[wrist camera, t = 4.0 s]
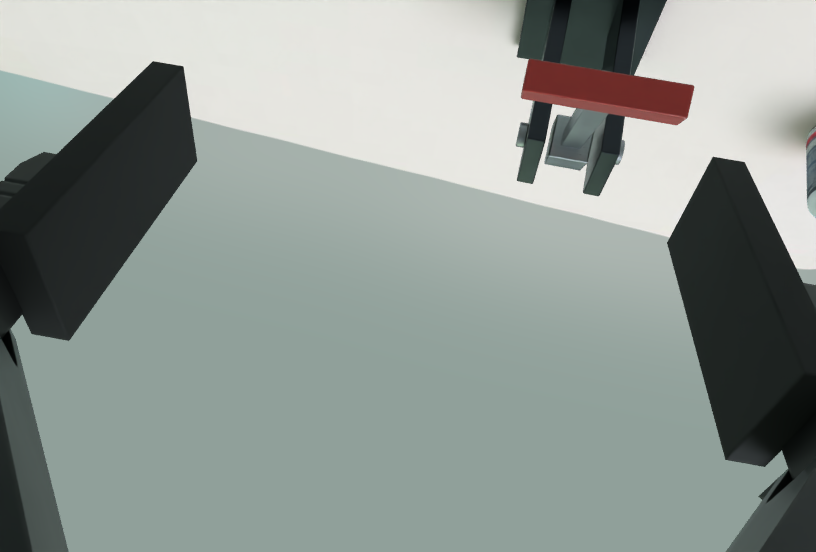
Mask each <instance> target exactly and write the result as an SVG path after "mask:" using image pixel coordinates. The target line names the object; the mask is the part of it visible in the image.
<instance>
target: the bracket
mask: <svg viewBox="0 0 816 552" xmlns="http://www.w3.org/2000/svg"><path fill="white" fill-rule="evenodd" d="M666 1H667V0H527V3H526V9H525V15H524V20H523V26H522V31H521V37H520V42H519V48H518V54H517V57H518V58H525V59H536V60H542V61H548V62H554V63H560V64H566V65H572V66H578V67H584V68H591V69H597V70H603V71H609V72H615V73H621V74H627V75H633V76H634V74H635V72H636V69H637V67H638V65H639V62H640V60H641V58H642V56H643V53H644V51H645V49H646V47H647V44H648V42H649V40H650V37H651V35H652V33H653V31H654V28H655V26H656V24H657V22H658V19H659V17H660V15H661V12H662V10H663V8H664V6H665V3H666ZM551 108H552V104H550V103H544V102H538V101H533V104H532V109H531V114H530V118H529V123H522V122H521V123H520V128H519V133H518V137H517V142H516V146H517V147H524V148H523V153H522V157H521V162H520V167H519V172H518V177H517V181H520V182H525V183H530V184H533V182H534V178H535V175H536V172H537V168H538V165H539V161H540V158H541V154H542V151H543V147H544V144H545V140H546V135H547V129H548V124H549V119H550V114H551ZM624 119H625V116H620V115H614V114H608V115H607V116H606V118H605V119H604V120H603V121H602V123H601V124H600V125H599V126H598V127H597V129H596V130H595V131H594V135H593V140H592V145H591V149H590V154H589V158H588V163H587V169H586V176H585V182H584V188H583V193H584V194H589V195H595V196H599V195H600V193H601V191H602V189H603V187H604V185H605V183H606V181H607V179H608V177H609V175H610V173H611V171H612V169H613V167H614V165H615V164H616V165H618V164H619V163H620V161H621V159H622V156H623V152H624V147H625V141H624V140H622V133H623V126H624Z"/></svg>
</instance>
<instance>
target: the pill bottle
mask: <svg viewBox="0 0 816 552" xmlns="http://www.w3.org/2000/svg"><path fill="white" fill-rule="evenodd" d="M806 160H807V205H808V209H809V211H810V213H811V214H812V215H813V216H814V217H815V218H816V127H815V128H814V129H812V131H811V132H810V133H809V135H808V137H807V141H806Z"/></svg>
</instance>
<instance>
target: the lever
mask: <svg viewBox="0 0 816 552" xmlns="http://www.w3.org/2000/svg"><path fill="white" fill-rule="evenodd" d="M693 91H694V86H693V85H688V84H682V83H676V82H670V81H664V80H658V79H652V78H646V77H640V76H633V75H627V74H621V73H615V72H609V71H603V70H597V69H591V68H584V67H578V66H572V65H566V64H560V63H554V62H548V61H542V60H536V59H529V60H528V64H527V69H526V74H525V78H524V83H523V88H522V93H521V98H522V99H527V100H533V101H538V102H544V103H550V104H556V105H562V106H567V107H573V108H576V110H575V111H574V113H573V115H572V117H569V116H563V115H557V117H556V119H555V121H554V123H553V125H552V129H551V134H550V139H549V143H548V148H547V153H546V157H545V162H544V163H545V164H548V165H553V166H559V167H564V168H570V169H575V170H581V169H582V168H583V167H584V166H585V165H586V164H587V162H588V158H589V154H590V149H591V145H592V140H593V135H594V131H595V130H596V129H597V127H598V126H599V125H600V124H601V123H602V121H603V120H604V119H605V118H606V116H607V115H608V114H614V115H620V116H626V117H631V118H637V119H643V120H649V121H655V122H661V123H666V124H672V125H678V124H680V123H681V122H682V121H684V120H685V119H686V118H687V117H688V113H689V109H690V104H691V100H692V95H693Z"/></svg>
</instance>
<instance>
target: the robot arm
mask: <svg viewBox="0 0 816 552" xmlns="http://www.w3.org/2000/svg"><path fill="white" fill-rule="evenodd" d="M196 162H197V157H196V149H195V143H194V137H193V129H192V122H191V115H190V109H189V102H188V95H187V88H186V81H185V75H184V68H183V66H177V65H172V64H166V63H160V62H154V61H153V62H152V63H151V64H150V65H149V66H148V67H147V68H146V69H145V70H144V71H142V72H141V73H140V74H139V75H138V76H137V77H136V78H135V79H134V80H133V81H132V82H131V83H130V84H129V85H128V86H127V87H126V88H125V89H124V90H123V91H122V92H121V93H120V94H119V95H118V96H117V97H116V98H114V99H113V100H112V101H111V102H110V103H109V104H108V105H107V106H106V107H105V108H104V109H103V110H102V111H101V112H100V113H99V114H98V115H97V116H96V117H95V118H94V119H93V120H92V121H91V122H90V123H89V124H88V125H86V126H85V127H84V128H83V129H82V130H81V131H80V132H79V133H78V134H77V135H76V136H75V137H74V138H73V139H72V140H71V141H70V142H69V143H68V144H67V145H66V146H65V147H64V148H63V149H62V150H61V151H60V152H59V153H57V154H52V153H46V152H43V153H41V154H39V155H37V156H35V157H33V158H30V159H28V160H27V161H24V162H22V163H20V164H19V165H18V166H17V167H16V168H15V169H14V170H13V171H12V172H10V173H9V174H8V175H7V176H6V177H5V181H1V182H0V552H68V548H67V544H66V540H65V536H64V532H63V528H62V524H61V520H60V516H59V512H58V508H57V504H56V500H55V496H54V492H53V488H52V484H51V480H50V476H49V472H48V468H47V464H46V460H45V456H44V451H43V447H42V443H41V439H40V435H39V432H38V427H37V423H36V419H35V415H34V411H33V407H32V403H31V399H30V395H29V391H28V387H27V384H26V379H25V375H24V371H23V367H22V363H21V359H20V355H19V351H18V347H17V343H16V339H15V337H14V335H13V333H12V331H11V329H10V328H11V327H12V326H13V325H14V324H15V322H16V321H17V320H18V319H19V318H20V316H21V315H22V314H23V316H24V319H25V321H26V323H27V325H28V327H29V329H30V331H31V333H32V334H35V335H41V336H46V337H52V338H57V339H62V340H68V341H69V340H70V339H71V337H72V336H73V335H74V333H75V332H76V330H77V329H78V328H79V326H80V325H81V323H82V322H83V321H84V319H85V318H86V316H87V315H88V313H89V312H90V311H91V309H92V308H93V307H94V305H95V304H96V302H97V301H98V299H99V298H100V296H101V295H102V294H103V292H104V291H105V290H106V288H107V287H108V285H109V284H110V283H111V281H112V280H113V278H114V277H115V275H116V274H117V273H118V271H119V270H120V269H121V267H122V266H123V264H124V263H125V261H126V260H127V259H128V257H129V256H130V254H131V253H132V252H133V250H134V249H135V248H136V246H137V245H138V243H139V242H140V241H141V239H142V238H143V236H144V235H145V233H146V232H147V231H148V229H149V228H150V227H151V225H152V224H153V222H154V221H155V220H156V218H157V217H158V215H159V214H160V213H161V211H162V210H163V208H164V207H165V205H166V204H167V203H168V201H169V200H170V199H171V197H172V196H173V194H174V193H175V191H176V190H177V189H178V187H179V186H180V184H181V183H182V182H183V180H184V179H185V177H186V176H187V175H188V173H189V172H190V170H191V169H192V168H193V166H194V165H195V163H196ZM667 244H668V248H669V251H670V255H671V258H672V263H673V266H674V270H675V274H676V277H677V281H678V285H679V289H680V292H681V296H682V300H683V303H684V307H685V311H686V314H687V318H688V322H689V326H690V330H691V333H692V337H693V341H694V344H695V348H696V352H697V356H698V359H699V363H700V366H701V370H702V374H703V377H704V382H705V385H706V389H707V393H708V396H709V400H710V404H711V407H712V411H713V415H714V419H715V422H716V426H717V430H718V433H719V437H720V441H721V445H722V448H723V452H724V456H725V460H730V461H736V462H741V463H747V464H752V465H758V466H764V467H765V466H766V465H767V464H768V463H769V462H770V461H771V460H772V459H773V458H774V457H775V456H776V455H777V454H778V453H779V452H780V451H781V450H782V451H783V455H784V457H785V460H786V463H787V466H788V469H787V470H786V471H785V472H784V473H783V474H782V475H781V476H780V477H779V478H778V479H777V480H776V481H775V482H774V483H772V484H771V485H770V486H769V487H768V488H767V489H766V490H765V491H764V492H763V493H762V494H761V495H760V496H759V497H760V498H761V499H762V502H761V503H760V505H759V506H758V507H757V509H756V510H755V512H754V513H753V514H752V516H751V517H750V519H749V520H748V521H747V523H746V524H745V526H744V527H743V528H742V530H741V531H740V533H739V534H738V535H737V537H736V538H735V540H734V541H733V542H732V544H731V545H730V547H729V548H728V549H727V551H726V552H816V285H812V284H806V283H803V282H802V280H801V278H800V276H799V273H798V272H797V269H796V267H795V265H794V263H793V261H792V259H791V257H790V255H789V253H788V251H787V249H786V247H785V245H784V243H783V241H782V238H781V236H780V234H779V232H778V230H777V228H776V226H775V224H774V222H773V220H772V218H771V216H770V214H769V212H768V210H767V208H766V205H765V203H764V201H763V199H762V197H761V195H760V193H759V191H758V189H757V187H756V185H755V183H754V181H753V179H752V177H751V175H750V173H749V170H748V168H747V166H746V164H745V162H740V161H734V160H729V159H723V158H717V157H713V158H712V160H711V161H710V163H709V165H708V167H707V169H706V171H705V173H704V175H703V176H702V178H701V180H700V182H699V184H698V186H697V188H696V190H695V191H694V193H693V195H692V197H691V199H690V201H689V203H688V205H687V207H686V208H685V210H684V212H683V214H682V216H681V218H680V220H679V222H678V223H677V225H676V227H675V229H674V231H673V233H672V235H671V237H670V238H669V240H668V242H667Z"/></svg>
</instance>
